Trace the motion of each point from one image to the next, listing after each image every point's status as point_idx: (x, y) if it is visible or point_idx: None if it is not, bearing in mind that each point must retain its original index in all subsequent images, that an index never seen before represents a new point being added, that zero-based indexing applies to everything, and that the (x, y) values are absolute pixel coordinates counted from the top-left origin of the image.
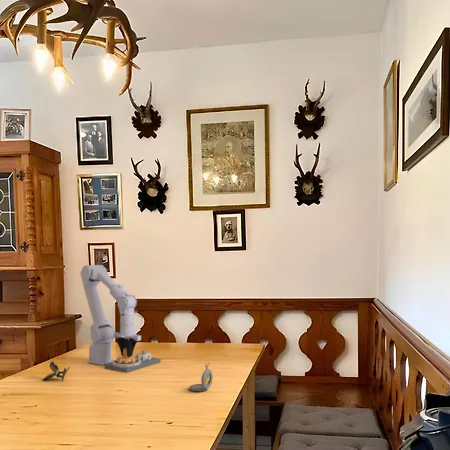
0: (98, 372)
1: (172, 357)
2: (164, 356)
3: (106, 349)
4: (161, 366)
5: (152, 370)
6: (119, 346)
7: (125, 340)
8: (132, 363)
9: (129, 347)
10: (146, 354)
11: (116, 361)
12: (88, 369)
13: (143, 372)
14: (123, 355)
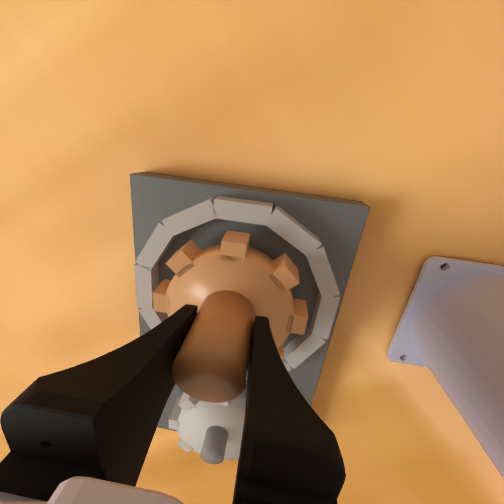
0: (335, 73)
1: (169, 474)
2: (211, 480)
3: (489, 378)
4: (92, 352)
5: (65, 276)
6: (281, 374)
7: (234, 492)
8: (151, 265)
9: (114, 352)
10: (197, 431)
11: (283, 255)
12: (478, 114)
13: (68, 222)
14: (233, 306)
